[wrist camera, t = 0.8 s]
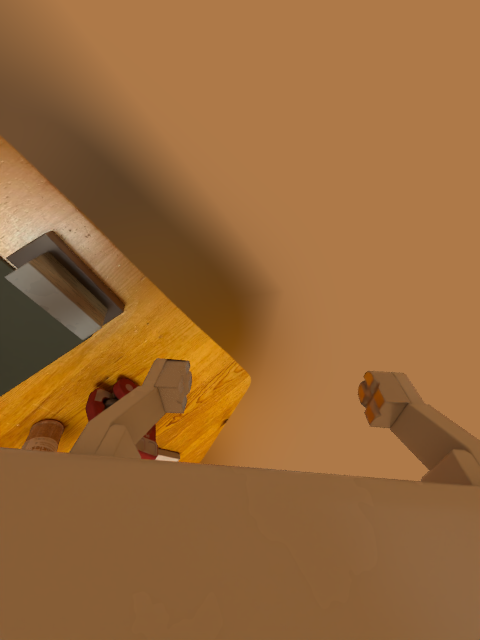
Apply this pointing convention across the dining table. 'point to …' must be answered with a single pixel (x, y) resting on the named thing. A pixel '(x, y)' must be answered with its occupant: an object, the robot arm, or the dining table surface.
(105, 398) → the toy fire truck
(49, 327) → the chalkboard
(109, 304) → the eraser
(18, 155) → the dining table surface
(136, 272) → the dining table surface
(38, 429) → the sprinkles bottle
